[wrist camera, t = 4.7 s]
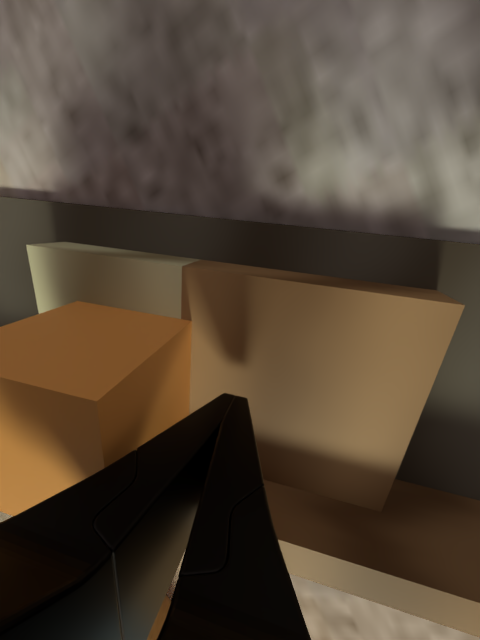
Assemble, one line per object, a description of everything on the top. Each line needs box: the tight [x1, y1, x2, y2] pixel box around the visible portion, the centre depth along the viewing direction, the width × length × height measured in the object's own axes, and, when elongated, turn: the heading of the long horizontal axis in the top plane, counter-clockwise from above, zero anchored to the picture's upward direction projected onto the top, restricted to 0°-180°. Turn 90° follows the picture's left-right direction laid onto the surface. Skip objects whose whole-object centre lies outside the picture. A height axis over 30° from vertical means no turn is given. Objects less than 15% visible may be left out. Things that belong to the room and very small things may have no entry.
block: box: [0, 301, 192, 516], centre depth 8 cm, size 4×4×4 cm
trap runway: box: [0, 197, 480, 637], centre depth 10 cm, size 24×11×4 cm, turn 85°
